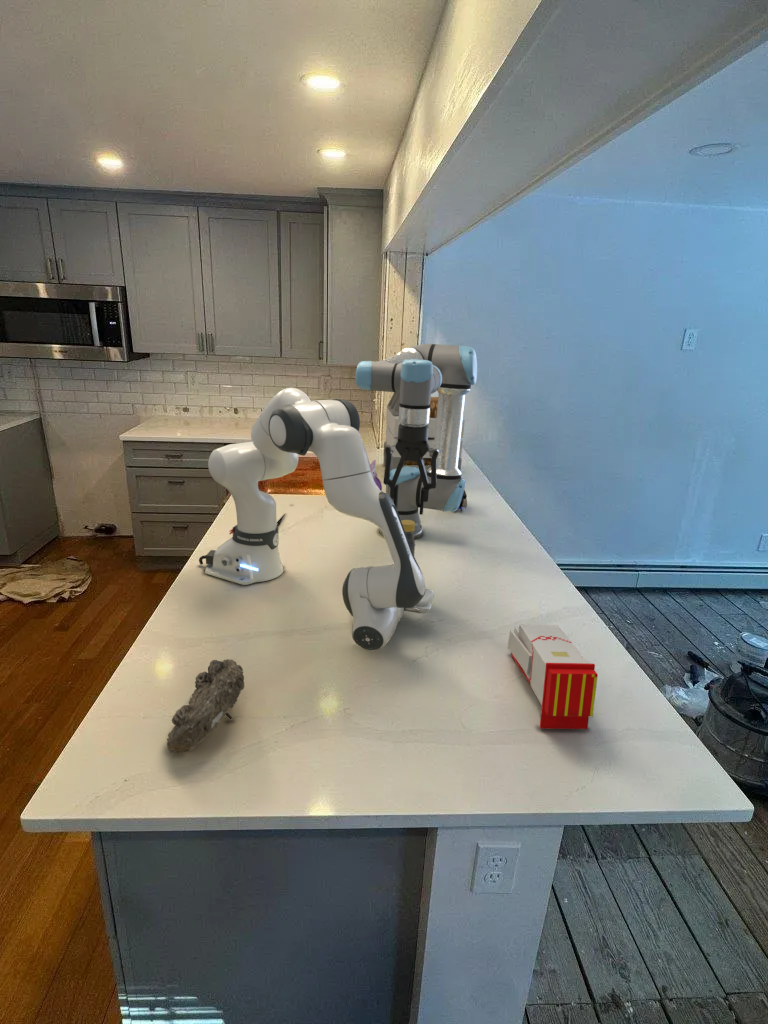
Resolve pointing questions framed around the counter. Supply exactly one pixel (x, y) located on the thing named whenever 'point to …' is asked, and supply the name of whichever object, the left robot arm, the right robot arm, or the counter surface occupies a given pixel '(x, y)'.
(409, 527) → the cap
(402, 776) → the counter surface
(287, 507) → the counter surface
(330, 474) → the left robot arm
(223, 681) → the grey elongated lump
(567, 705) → the toy
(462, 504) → the figurine character
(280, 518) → the feather
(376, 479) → the figurine
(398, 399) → the transformer
